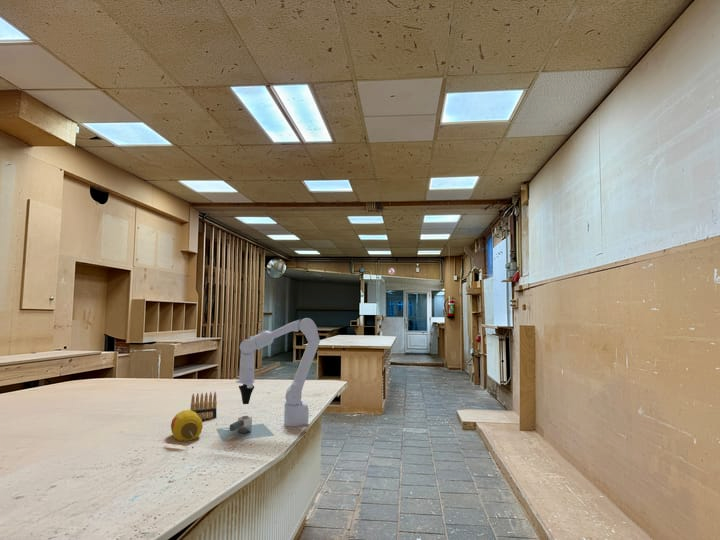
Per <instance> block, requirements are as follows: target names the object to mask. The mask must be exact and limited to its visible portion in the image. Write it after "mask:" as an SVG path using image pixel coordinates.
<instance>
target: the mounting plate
mask: <svg viewBox="0 0 720 540" xmlns="http://www.w3.org/2000/svg"><path fill="white" fill-rule="evenodd" d="M216 431H217V433H218V435H219V437H220V439H221V441H222V443H225V442H233V441H241V440H250V439H256V438H257V439H258V438H265V437H273V436H275V434H274V433H273V432H272V431H271V430H270V429H269V428H268V427H267V426H266V425H265V424H264V423H257V424H252V431H251V432H248V433H239V432H238V429H236V430H235V431H230V426H229V427H219V428H216Z"/></svg>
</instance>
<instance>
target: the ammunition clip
mask: <svg viewBox="0 0 720 540" xmlns="http://www.w3.org/2000/svg"><path fill="white" fill-rule="evenodd" d="M199 394H200V395H199ZM208 396H209V397H208ZM189 410H191V411H194V412H196V414H197V415H198V416H199V417H200V418H201V420H202V423H204V422H206V421H209V420H212V419H217V416H218V415H217V392H216V391H214V393H212V391H210V393H209V395H208V392H207V391H206V392H205V395H204V394H203V392H201V393H199V392H198V393H196V396H195V394H194V393H192V395H191V400H190V409H189Z"/></svg>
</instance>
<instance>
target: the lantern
mask: <svg viewBox="0 0 720 540" xmlns="http://www.w3.org/2000/svg"><path fill="white" fill-rule="evenodd" d="M170 429H171V433H172V436H173V437H174V438H175V440H177V442H188V441H189V442H190V441H193V440H196V439H197V438H199V436H200V435H201V433H202V432H203V431H202V430H203V422H202V420H201V418H200V417H199V416H198V415H197V414H196V412H194V411H191V410H190V409H186V410H182V411H180V412H178V413H177V414H175V415H174V417H173V419H172V420H171V424H170Z"/></svg>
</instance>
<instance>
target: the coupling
mask: <svg viewBox="0 0 720 540" xmlns="http://www.w3.org/2000/svg"><path fill="white" fill-rule="evenodd" d="M252 425H253V417H252V416H248V415H242V416H240V417H238V418H237V421H234V422H232V423H231V424H230V425H229V427H230V431H235V430H236V429H238V432H239V433H248V432H251V431H252Z"/></svg>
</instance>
